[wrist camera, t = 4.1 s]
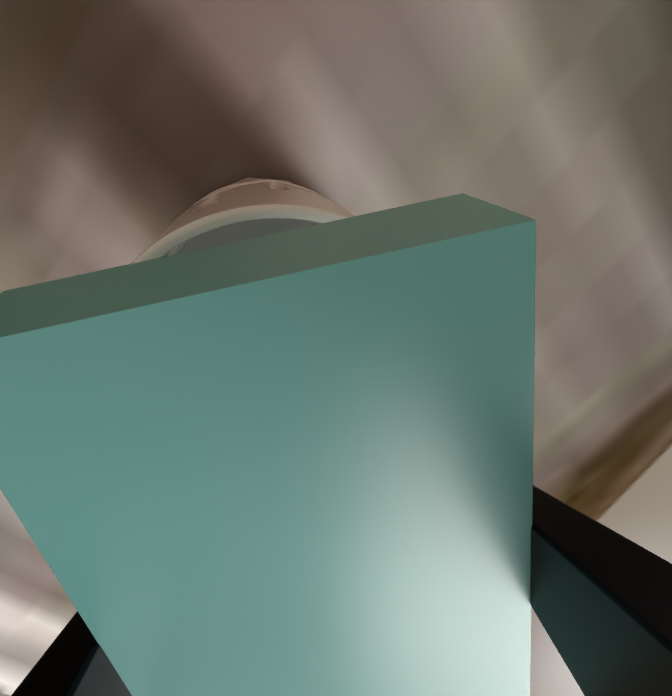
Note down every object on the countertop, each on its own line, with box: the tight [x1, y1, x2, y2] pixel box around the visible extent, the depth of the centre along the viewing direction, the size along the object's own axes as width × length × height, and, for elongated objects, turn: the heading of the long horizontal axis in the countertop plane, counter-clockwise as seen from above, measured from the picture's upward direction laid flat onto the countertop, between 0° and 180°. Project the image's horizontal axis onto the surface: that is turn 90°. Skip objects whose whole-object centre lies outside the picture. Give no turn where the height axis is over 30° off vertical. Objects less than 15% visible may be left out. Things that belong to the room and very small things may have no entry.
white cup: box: [131, 177, 354, 264], centre depth 15 cm, size 8×8×10 cm
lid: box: [0, 193, 536, 696], centre depth 8 cm, size 6×11×2 cm, turn 9°
